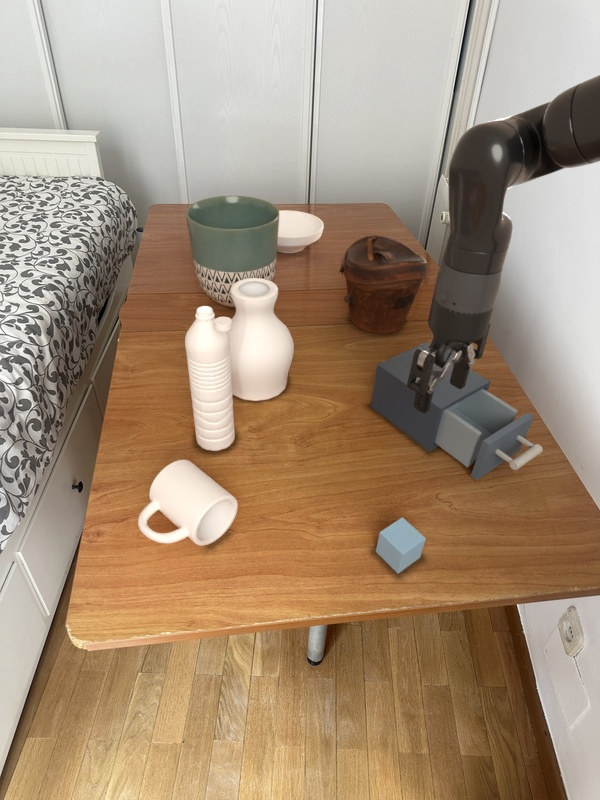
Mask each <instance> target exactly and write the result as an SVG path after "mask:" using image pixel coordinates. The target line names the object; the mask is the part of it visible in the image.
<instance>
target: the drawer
mask: <svg viewBox="0 0 600 800" xmlns="http://www.w3.org/2000/svg"><path fill="white" fill-rule="evenodd" d="M517 414H518V409H516V408H514V407H513V406H511V405H510V404H509V403H508V402H505V401H503V400H502V399H501V398H499V397H498V396H495V395H494V394H493V393H491V392H489V391H486V390H484V389H482V390H480V391H478V392H476V393H474V394H473V395H471V396H469V397H467V398H465V399H463V400H462V401H460V402H458V403H456V404H454V405H453V406H451V407H449V408H447V409H445V410H444V411H443V413H442V417H441V421H440V424H439V428H438V432H437V435H436V439H435V443H436V444H437V445H438V447H439V448H441V449H442V450H444V452H446V453H448V454H449V455H450V456H452V457H453V458H454V459H455V460H456V461H458V462H459V463H460V464H462V465H463V466H465V467H466V468H469V467H470V466H472V465H473V468H472V471H471V473H470V477H471V478H473V479H474V480H475V481H478V480H479V479H481V478H482V477H484V476H485V475H487V474H489V472H491V471H492V470H494V469H495V468H497V467H498V466H500V465H502V464H503V463H504V462H507V463H508V464H509V465H508V466H509V467H510V468H511V469H512V470H513V471H517V470H520V468H521V467H523V466H524V465H526V464H528V463H529V462H531V461H532V460H533V459H534V458H536V457H537V456H538V455H540V454H541V453H543V446H542V445H541V444H538V443H535V444H534V443H533V442H531V441H529V440H528V439H526V438H527V435H528V432H529V429H530V427H531V425H532V422H533V421H534V418H535V415H533V414H531V413H530V412H526V413H524V414H522V415H521V416H519V417H517V418H516V416H517ZM523 445H524V446H526V447H527V448H528V449H527V450H525V451H524V452H522V453H521V454H519V455H517V456H516V457H515V458H511V457H513V456H514V455H516V454H517V453H519V452H520V451H521V449H522V447H523Z"/></svg>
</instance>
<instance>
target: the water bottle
mask: <svg viewBox="0 0 600 800" xmlns="http://www.w3.org/2000/svg"><path fill="white" fill-rule="evenodd" d="M194 316H195V320H194V321H193V323H192V324H191V325H190V327H189V328H188V330H187V332H186V333H185V338H184V348H185V353H186V361H187V371H188V379H189V389H190V398H191V402H192V403H191V405H192V411H193V412H192V415H193V421H194V430H195V439H196V443H197V445H198V446H199V447H200V448H201V449H204V450H206V451H212V452H218V451H222V450H225V449H228V448H229V447H230V446H231V445H232V444H233V443H234V442H235V438H236V431H235V418H234V400H233V397H234V395H233V394H232V380H231V365H230V342H229V336H228V333H227V331H229V330H231V329H232V320H231V319H232V318H230V317H229V316H219V317H216V318H215V316H216V314H215V312H214V309H213V308H212V307H211V306H208V305H201V306H199V307H198V308H196V313H195V315H194ZM225 329H226V330H225Z"/></svg>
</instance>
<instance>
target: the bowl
mask: <svg viewBox="0 0 600 800" xmlns="http://www.w3.org/2000/svg"><path fill="white" fill-rule="evenodd" d="M279 213H280V215H279V231H278V246H277V253H283V254H295V253H300V252H302V251H303V250H305V248H307V247H308V246H310V245H311V244H313V243H315V242H316V241H319V240H320V239H321V237H322V235H323V233H324V227H325V224H324V222H323V220H322V219H320V218H319V217H318V216H316V215H314V214H311V213H308V212H305V211H299V210H289V209H288V210H285V209H284V210H283V209H282V210H279Z"/></svg>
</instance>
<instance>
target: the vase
mask: <svg viewBox="0 0 600 800" xmlns="http://www.w3.org/2000/svg"><path fill="white" fill-rule="evenodd" d="M231 296H232V299H233V302H234V304H235V307H234V308H235V314H234V315H233V317H232V318H230V319H231V320H232V329H231V330H229V331H227V333H228V336H229V342H230V365H231V380H232V396H235V397H237V398H239V399H242V400H245V401H246V400H247V401H252V402H253V401H254V402H258V401H266V400H270V399H272V398H275V397H277V396H279V395H280V394H281V393H282V392H283V391H284V390H285V389H286V387H287V384H288V377H289V376H288V375H289V372H290V368H291V365H292V362H293V358H294V354H295V344H294V339H293V336H292V334H291V332H290V330H289V328H288V327H287V325H285V324H284V322H283V321H281V320H280V319H279V318H278V316H277V315H276V314H275V304H276V302H277V299H278V296H279V288H278V285H277V284H276V283H274V281H273V282H272V281H269V280H266V279H261V278H247V279H243V280H239V281H237V282H236V283H234V284H233V285H232V287H231ZM225 330H226V329H225Z"/></svg>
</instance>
